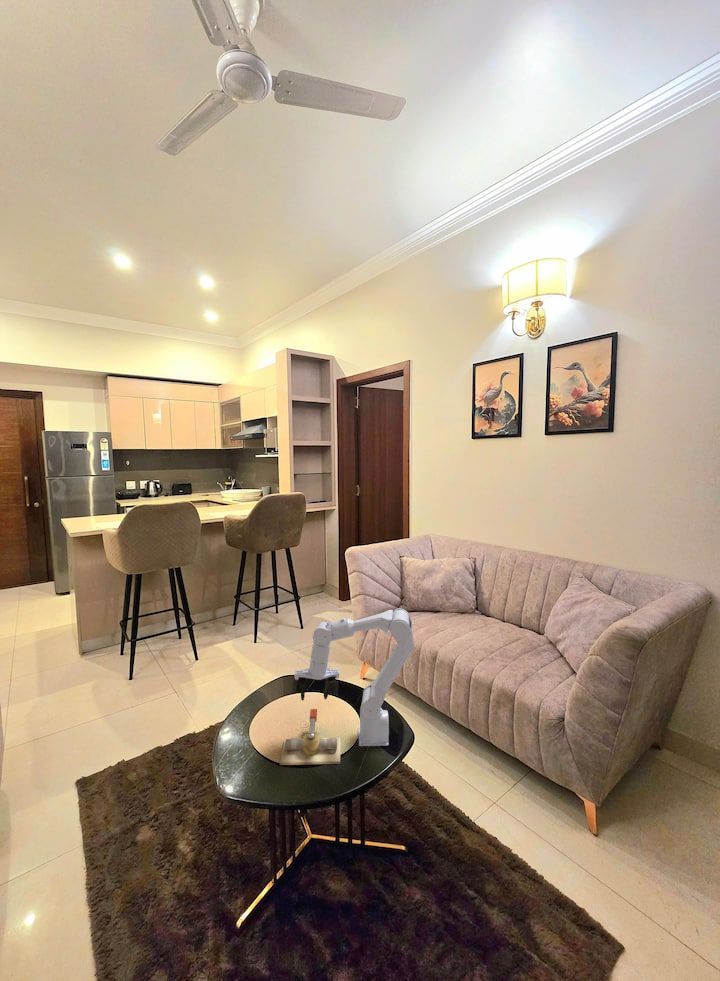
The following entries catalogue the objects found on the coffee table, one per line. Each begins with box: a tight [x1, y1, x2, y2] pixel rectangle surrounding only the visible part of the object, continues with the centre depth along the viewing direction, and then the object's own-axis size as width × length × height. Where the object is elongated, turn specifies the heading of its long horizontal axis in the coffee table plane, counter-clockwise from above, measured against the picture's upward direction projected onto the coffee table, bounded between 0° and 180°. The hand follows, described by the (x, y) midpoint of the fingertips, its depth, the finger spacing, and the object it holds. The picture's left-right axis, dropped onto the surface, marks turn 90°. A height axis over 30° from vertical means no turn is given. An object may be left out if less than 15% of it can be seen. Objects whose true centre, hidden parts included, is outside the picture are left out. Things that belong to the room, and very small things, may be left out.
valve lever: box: [307, 708, 318, 739], centre depth 129 cm, size 12×2×2 cm, turn 3°
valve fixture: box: [279, 731, 341, 766], centre depth 125 cm, size 18×10×5 cm, turn 93°
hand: (313, 697), depth 133 cm, fingers open, 7 cm apart
